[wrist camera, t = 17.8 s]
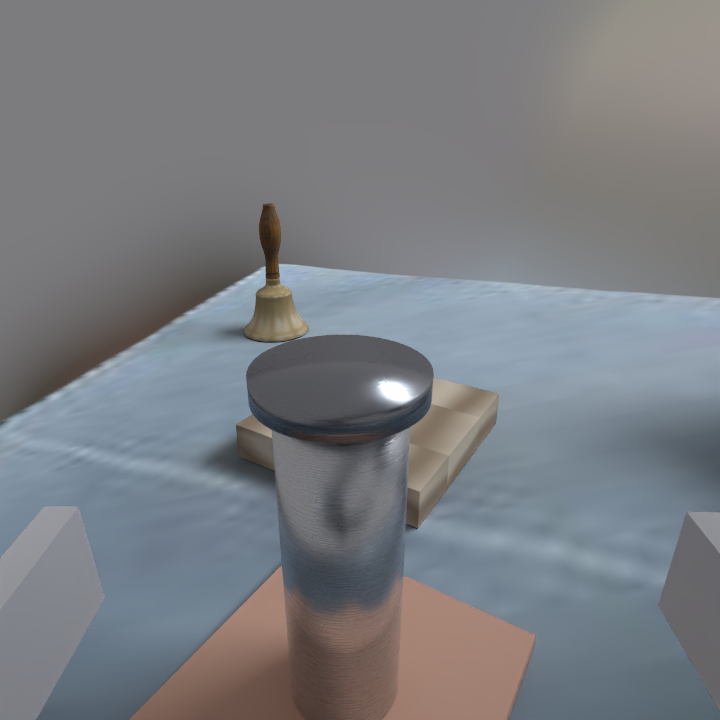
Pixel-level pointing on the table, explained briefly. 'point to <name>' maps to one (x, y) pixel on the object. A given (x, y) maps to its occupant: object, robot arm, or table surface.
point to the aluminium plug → (341, 510)
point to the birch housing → (415, 442)
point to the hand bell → (273, 291)
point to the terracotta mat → (416, 664)
